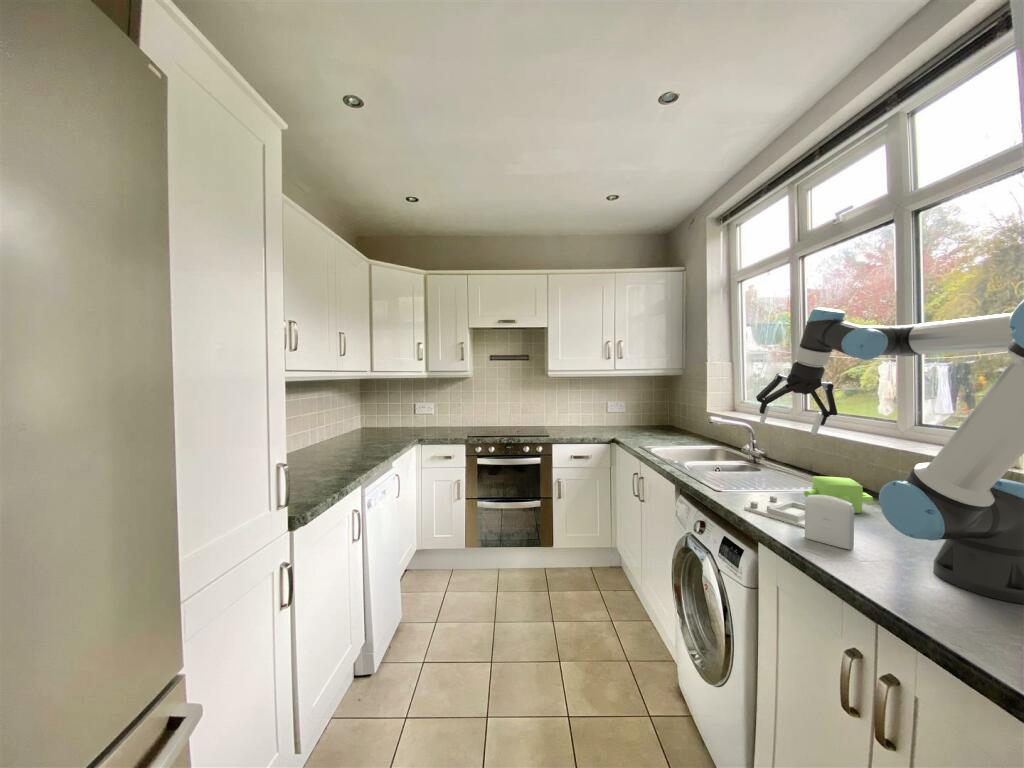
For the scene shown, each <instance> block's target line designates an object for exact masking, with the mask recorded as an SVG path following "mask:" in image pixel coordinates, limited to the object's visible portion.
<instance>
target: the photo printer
mask: <svg viewBox="0 0 1024 768" xmlns="http://www.w3.org/2000/svg"><path fill="white" fill-rule="evenodd" d="M804 504H805V528H804V538H805V539H807V540H809V541H815V542H818V543H822V544H826V545H829V546H833V547H837V548H840V549H845V550H849V551H851V550H853V549H854V548H855V513H854V509H853V504H851V503H849V502H847V501H845V500H842V499H839V498H836V497H832V496H826V495H808V496H807V497H806V499H805V503H804Z"/></svg>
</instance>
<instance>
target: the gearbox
mask: <svg viewBox="0 0 1024 768" xmlns="http://www.w3.org/2000/svg"><path fill="white" fill-rule="evenodd" d="M863 488H864V486H863V485H861V484H860V483H859V482H857V481H856V480H853V479H852V478H849V477H840V476H839V477H836V476H822V475H821V476H817V475H814V476H812V489H808V490H805V491H803V495H804V497H806V498H807V496H808V495H826V496H832V497H836V498H839V499H842V500H845V501H847V502H849V503H851V504H853V509H854V514H855V513H857V514H862V513H863V503H873V501H874V497H873V496H872V495H870V494H868V493H867V492H864V489H863Z"/></svg>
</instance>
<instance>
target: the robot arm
mask: <svg viewBox="0 0 1024 768" xmlns="http://www.w3.org/2000/svg"><path fill="white" fill-rule="evenodd" d="M845 318H846V312H845V311H843V310H841V309H837V308H831V307H816V308H814V309H812V310H811V312H810V314H809V316H808V319H807V320H806V324H805V328H804V331H803V334H802V337H801V340H800V342H799V346H798V349H797V352H796V355H795V361H793V363H792V366H791V369H790V373H789V374H788V375H787V376H786V375H782V374H781V373H778V372H777V373H776V374H775V377H774V379H773V380H772V381H771V382H769V383H768V385H767V386H766V387H764V388H763V389H762V391H760V392H759V393H758V394H757V395H756V397H755V398H756V401H757V402H759V403H760V407H759V414H761V416H760V419H759V422H760V425H762V426H764V424H765V422H766V419H767V416H768V413H769V410H770V407H771V406H770V404H771V403H772V402H774V401H775V400H777V399H779V398H781V397H782V396H785V395H786V394H790V393H791V392H793V393H794V394H802V395H806V396H807V395H809V394H810V395H811V397H812V398H813V399H814V401H815V403H816V404H817V406H818V407H819V410H820V411H818V412H817V414H816V417H815V418H814V419H815V420H814V422H813V424H812V427H811V434H812V435H813V436H817V434H818V431H819V429H820V426H824V425H825V424H826V421H827V419H828V418H829V417H830V416H837V415H838V410H837V406H836V400H835V398H834V397H835V396H834V392H833V390H834V384H833V383H832V382H831V381H830V380H827V381H822V379H823V376H824V374H825V370H826V366H827V365H828V362H829V360H830V357H831V354H832V352H833V350H835V351H837V352H839V353H842V354H844V355H847V356H848V357H849V356H850V357H851V358H854V359H860V360H862V361H869V360H870V361H871V360H874V359H875V358H878V357H880V356H899V357H900V356H901V357H914V356H920V355H934V354H935V355H936V354H937V355H939V354H957V353H961V354H962V353H978V352H979V353H980V352H1000V351H1002V352H1003V351H1007V353H1008V354H1009V357H1010V358H1011V361H1010V363H1009V364H1008V365H1007V366H1006V368H1005V369H1004V370H1003V372H1002V373H1001V374H1000V375H999V376H998V378H997V379H996V381H995V382H994V383H993V384H992V385H991V387H990V388H989V389H988V390H987V391H986V393H985V394H984V395H983V396H982V398H981V399H980V400H979V401H978V403H977V405H975V407H974V408H973V409H972V411H971V412H970V413H969V414H968V416H967V417H966V418H965V419H964V420H963V422H962V423H961V424H960V426H958V428H957V429H956V431H955V432H954V433H953V434H952V435H951V437H950V438H949V439H948V440H947V442H946V443H945V444H944V446H942V448H941V450H940V451H938V453H937V455H935V457H934V458H933V460H932V461H931V462H920V463H917V464H916V465H915V466H914V467H913V468H912V470H911V471H910V472H909V473H908V474H907V476H906V477H905V478H904V479H903V480H900V479H899V480H898V479H897V480H893V481H890V482H887V483H885V484H884V485H883V486H882V487H881V489H880V490H879V494H878V503H879V507H880V508H881V512H882V515H883V516H884V518H885V520H887V521H886V522H888V523H889V524H890V526H892V527H893V528H894V529H895V530H896V531H898V532H899V533H901V534H903V536H906V537H909V538H912V539H916V540H927V541H938V540H939V541H941V540H944V542H943V544H942V545H941V547H940V549H939V551H938V552H937V554H936V556H935V557H934V560H933V567H932V569H933V573H934V574H935V575H936V576H937V577H939V578H940V579H941V580H944V581H945V582H947V583H949V584H951V585H954V586H956V587H958V588H960V589H964V590H966V591H969V592H971V593H972V592H973V593H974V594H978V595H982V596H985V597H989V598H992V599H996V600H999V601H1005V602H1010V603H1015V604H1023V605H1024V483H1023V482H1019V481H1015V480H1010V479H1005V478H1002V477H1003V476H1005V474H1006V473H1007V472H1008V471H1009V470H1010V469H1011V468H1012V467H1013V466H1014V465H1015V463H1017V462H1018V460H1019V459H1020V458H1021V457H1022V456H1023V455H1024V299H1023V300H1022V301H1021V302H1020V303H1018V305H1017V306H1016V308H1015V309H1014V310H1013V312H1011V313H1010V312H1009V313H999V314H991V315H990V314H989V315H983V316H975V317H968V318H957V319H951V320H942V321H941V320H940V321H932V322H924V323H916V324H906V325H868V324H867V325H866V324H865V325H862V324H856V323H852V322H849V321H845V320H846V319H845ZM785 381H786V384H785V385H783V386H782V387H781V388H779V389H777V390H776V391H774V390H775V389H776V388H777V387H778V386H779V385H780V384H781V383H784V382H785ZM820 387H822V389H823V390H824V392H825V396H826V400H827V405H828V409H827V408H826V406H825V405H824V403H823V401H822V400H821V398H820V396H819V395H818V393H817V392H816V390H817V389H819V388H820ZM771 392H772V393H771Z"/></svg>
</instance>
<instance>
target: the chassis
mask: <svg viewBox="0 0 1024 768" xmlns="http://www.w3.org/2000/svg"><path fill="white" fill-rule="evenodd" d="M743 510H745V511H747V512H750V511H751V513H754V514H758V515H760V514H761V515H760V516H763V515H764V516H763V517H767V518H770V517H771V519H773V518H774V520H777V519H778V521H780V520H781V522H783V521H784V523H787V522H788V523H787V524H790V523H791V524H790V525H793V524H794V526H797V525H798V526H797V527H800V526H801V528H803V527H804V529H805V503H802V502H798V501H794V500H789V501H786V502H782V501H779V500H778V497H777V496H769V498H767V499H765V500H763V501H759V502H755V501H751V502H750V504H749V505H745V506H744V508H743Z"/></svg>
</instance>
